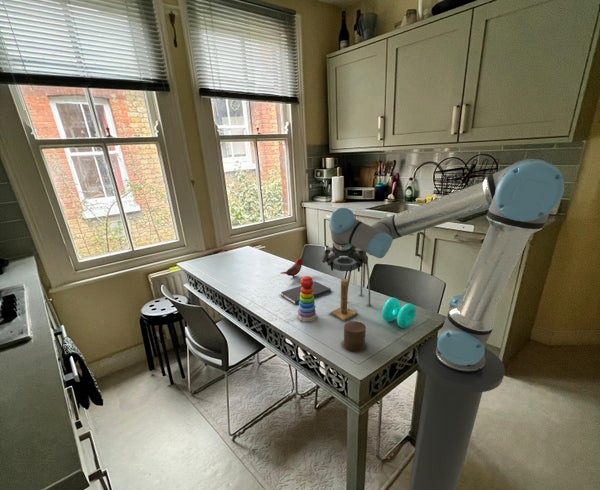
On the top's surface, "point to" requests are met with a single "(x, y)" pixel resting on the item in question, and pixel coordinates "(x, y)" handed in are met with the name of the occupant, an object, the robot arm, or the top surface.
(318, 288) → the notebook
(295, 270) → the decorative bird figurine
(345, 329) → the stand
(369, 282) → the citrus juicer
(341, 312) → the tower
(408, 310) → the teal toy dumbbell
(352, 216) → the robot arm
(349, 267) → the gray octagonal ring
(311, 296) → the stacking toy
